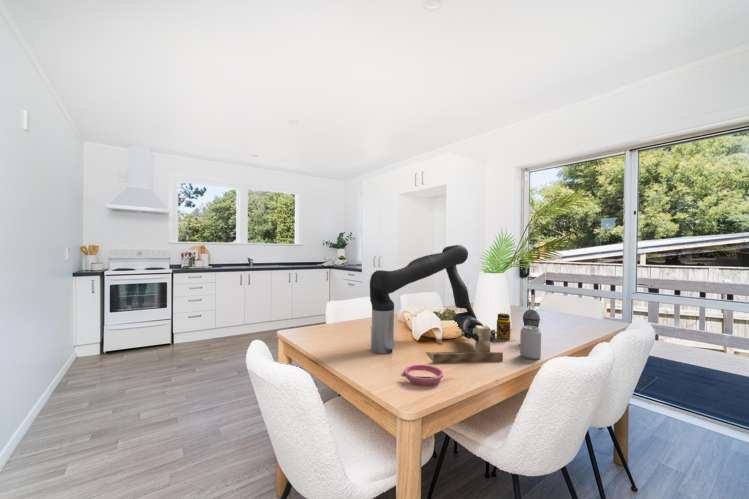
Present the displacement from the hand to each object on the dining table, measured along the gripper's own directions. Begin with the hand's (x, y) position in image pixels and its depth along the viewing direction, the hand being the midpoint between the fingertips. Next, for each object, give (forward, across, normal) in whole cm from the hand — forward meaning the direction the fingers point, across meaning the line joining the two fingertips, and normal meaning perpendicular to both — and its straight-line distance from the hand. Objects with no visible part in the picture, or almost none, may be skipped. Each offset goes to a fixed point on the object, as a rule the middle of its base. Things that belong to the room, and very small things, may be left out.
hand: (484, 339), depth 123 cm
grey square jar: (-8, +20, +9) cm, 24 cm away
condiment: (-34, +18, +9) cm, 40 cm away
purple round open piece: (+19, -25, +9) cm, 32 cm away
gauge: (-2, 0, +6) cm, 6 cm away
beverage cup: (-27, +28, +9) cm, 40 cm away
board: (-1, -8, +9) cm, 12 cm away
